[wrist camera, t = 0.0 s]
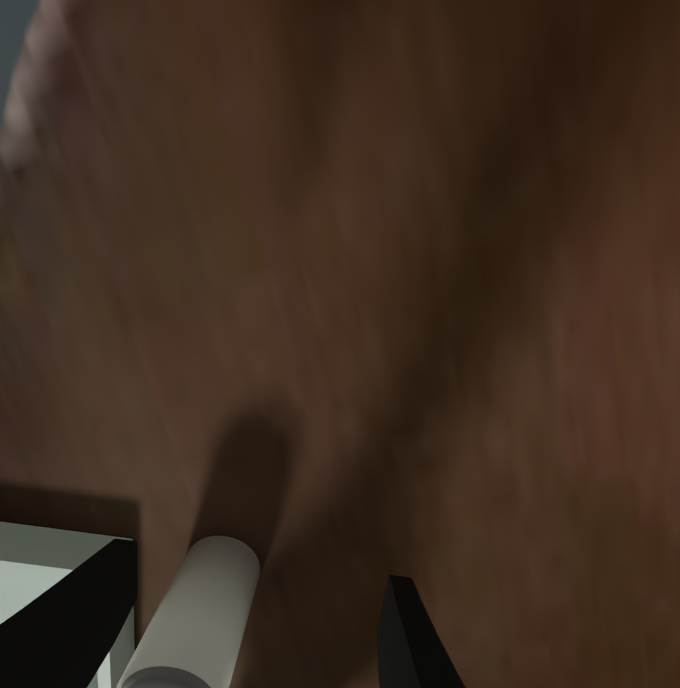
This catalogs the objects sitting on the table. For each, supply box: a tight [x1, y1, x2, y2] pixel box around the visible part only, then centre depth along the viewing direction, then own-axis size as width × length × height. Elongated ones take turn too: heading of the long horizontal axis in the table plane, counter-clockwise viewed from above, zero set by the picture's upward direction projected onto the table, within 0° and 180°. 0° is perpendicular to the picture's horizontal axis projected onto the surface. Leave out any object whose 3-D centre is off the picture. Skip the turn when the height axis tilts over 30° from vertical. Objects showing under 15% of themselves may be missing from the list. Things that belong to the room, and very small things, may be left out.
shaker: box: [116, 536, 260, 688], centre depth 19 cm, size 5×5×8 cm
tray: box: [0, 522, 135, 688], centre depth 22 cm, size 13×15×2 cm
